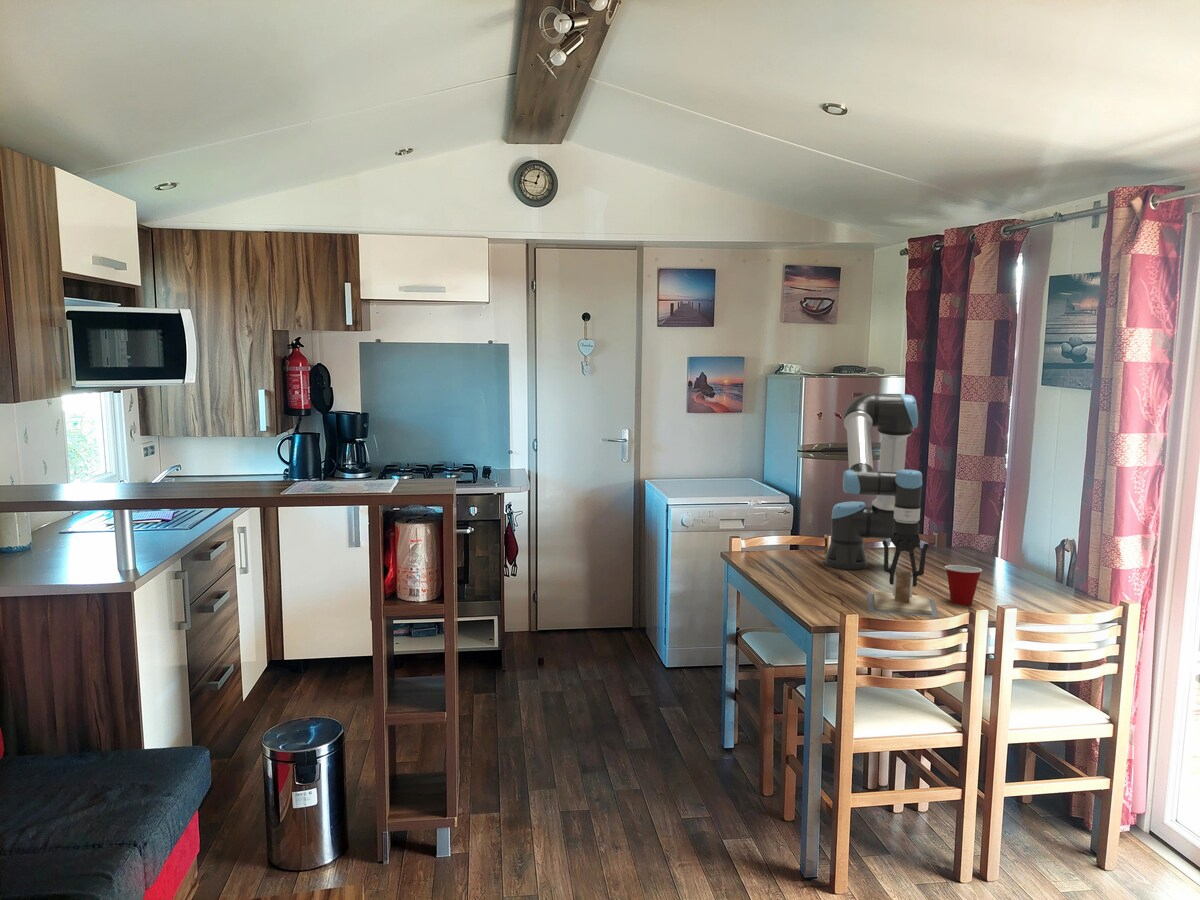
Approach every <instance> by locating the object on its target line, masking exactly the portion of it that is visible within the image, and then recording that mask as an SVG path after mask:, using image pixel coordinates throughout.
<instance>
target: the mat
mask: <svg viewBox="0 0 1200 900" xmlns="http://www.w3.org/2000/svg"><path fill="white" fill-rule="evenodd" d="M866 595H867V596H866V598H867V611H868V612H876V613H886V614H895V615H896V614H897V615H906V616H916V617H917V616H918V617H924V618H926V617H927V618H937V619H939V618H941V617H940V614H939V612H938V609H937V605H936V602H935V599H933V598H928V599H929V603H930V606H931V609H932V615H928V614H918V613H907V612H897V611H887V610H877V609H875V605H874V593H873V592H866Z"/></svg>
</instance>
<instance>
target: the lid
mask: <svg viewBox="0 0 1200 900" xmlns="http://www.w3.org/2000/svg"><path fill="white" fill-rule="evenodd" d="M895 573H896V575H897V578H896V596H893V592H883V591H876V590H875V591H874V590H873V594H874V605H875V609H877V610H887V611H897V612H907V613H918V614H928V615H932V609H931V606H930V603H929V599H930V598H929V597H928V596H927V595H917V594H912V598H910V581H911V575H912V574H911V573H912V572H911V570H901V569H900V570H898V569H895Z"/></svg>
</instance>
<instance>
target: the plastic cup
mask: <svg viewBox="0 0 1200 900" xmlns="http://www.w3.org/2000/svg"><path fill="white" fill-rule="evenodd" d="M944 569H945V571H946V575H947V576H946V577H947V581H948V590H949V596H950V597H949V598H950V601H951V603H953V604H956V605H962V606H971V605H972V604H973V601H974V597H975V593H976V589H977V586H978V583H979V578H980V575H981V573H982V572H983V569H982V568H980V567H976V566H969V565H958V564H956V565H955V564H952V565H951V564H950V565H945V566H944Z"/></svg>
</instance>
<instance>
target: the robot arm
mask: <svg viewBox="0 0 1200 900" xmlns="http://www.w3.org/2000/svg"><path fill="white" fill-rule="evenodd" d="M918 423H919V414H918V406H917V400H916V398H915V396H914V395H911V394H904V393H872V392H871V393H865V394H862V395H860V396H858V397H856V398H855V399H853V400H852V401H851V402H850V404H849V405H848V406H847V408H846V409H845V411H844V414H843V426H844V428H845V430H846V435H847V436H846V437H847V454H848V455H847V457H848V458H847V459H848V460H847V461H848V469H846V470H844V471H843V474H842V475H843V477H842V490H843V493H845V494H853V495H865V496H866V495H867V496H870V495H871V496H876V498H875V499H873V500H872V501H871V506H867V504H866V503H865V502H864V501H855V500H854V501H843V502H838V503H836V504H835V505H834V506H833V507H832V511H831V517H830V518H831V529H830V542H829V546H828V549H827V552H826V554H825V555H824V556H825V557H824V564H825V565H827V566H828V567H832V568H834V569H835V568H836V569H843V570H863V569H865V568H867V567H868V557H867V554H866V550H865V548H864V539H873V540H875V539H876V540H881V542H882V546H883V571H884V572H885V573H888V574H889V582H888V583H889V585H892V593H893V596H896V578H897V575H896V570H897V569H896V568H897V566H898V562H899V559H900V555H901V552H908V555H909V558H910V567H911V571H912V572H911V573H912V574H911V581H910V598H912V595H913V588H914V587H915V588H916V587H917V585H918V584H917V582H918V577H919V576H924V574H925V573H924V572H925V566H926V565H925V564H926V555H927V550H928V549H929V546H930V545H929V543H928V542H926V541H923V540H921V538H920V522H919V521H920V520H921V502H922V489H923V487H922V486H923V473H922V472H921V471H920V470H915V469H905V465H906V453H907V443H908V442H907V441H908V437H910V436H911V435H912V434H913V429H916V428H918V425H919V424H918ZM872 427H875V428H876V427H877V429H876V430H877V433H878V434H880V436H881V438H880V452H879V462H878V463H879V464H878V470H876V471H875V470H874V464H873V461H874V460H873V452H872V451H873V450H872V449H873V448H872V438H871V437H872V436H871V428H872ZM891 543H892V544H893V546H894V547H895V550H894V551H895V552H894V555H893V558H892V562H891V566H890V568H889V557H890V556H889V553H890V551H889V547H890V546H891ZM918 545H919V547H920V556H919V567H918V570H917V566H916V559H915V551H914V550H915V549H916V548H917V547H918Z"/></svg>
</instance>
